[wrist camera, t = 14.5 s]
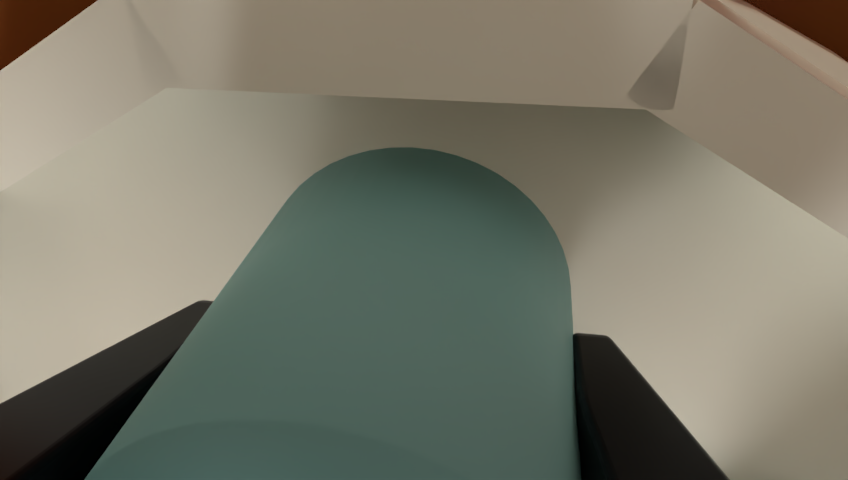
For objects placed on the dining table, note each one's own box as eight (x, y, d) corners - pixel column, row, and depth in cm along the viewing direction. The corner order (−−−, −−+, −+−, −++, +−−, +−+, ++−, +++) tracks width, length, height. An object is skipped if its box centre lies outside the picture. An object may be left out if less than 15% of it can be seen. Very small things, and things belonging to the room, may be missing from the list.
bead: (587, 157, 8) (627, 457, 4) (555, 422, 10) (562, 793, 6) (248, 138, 8) (-4, 387, 5) (281, 392, 10) (125, 719, 7)
